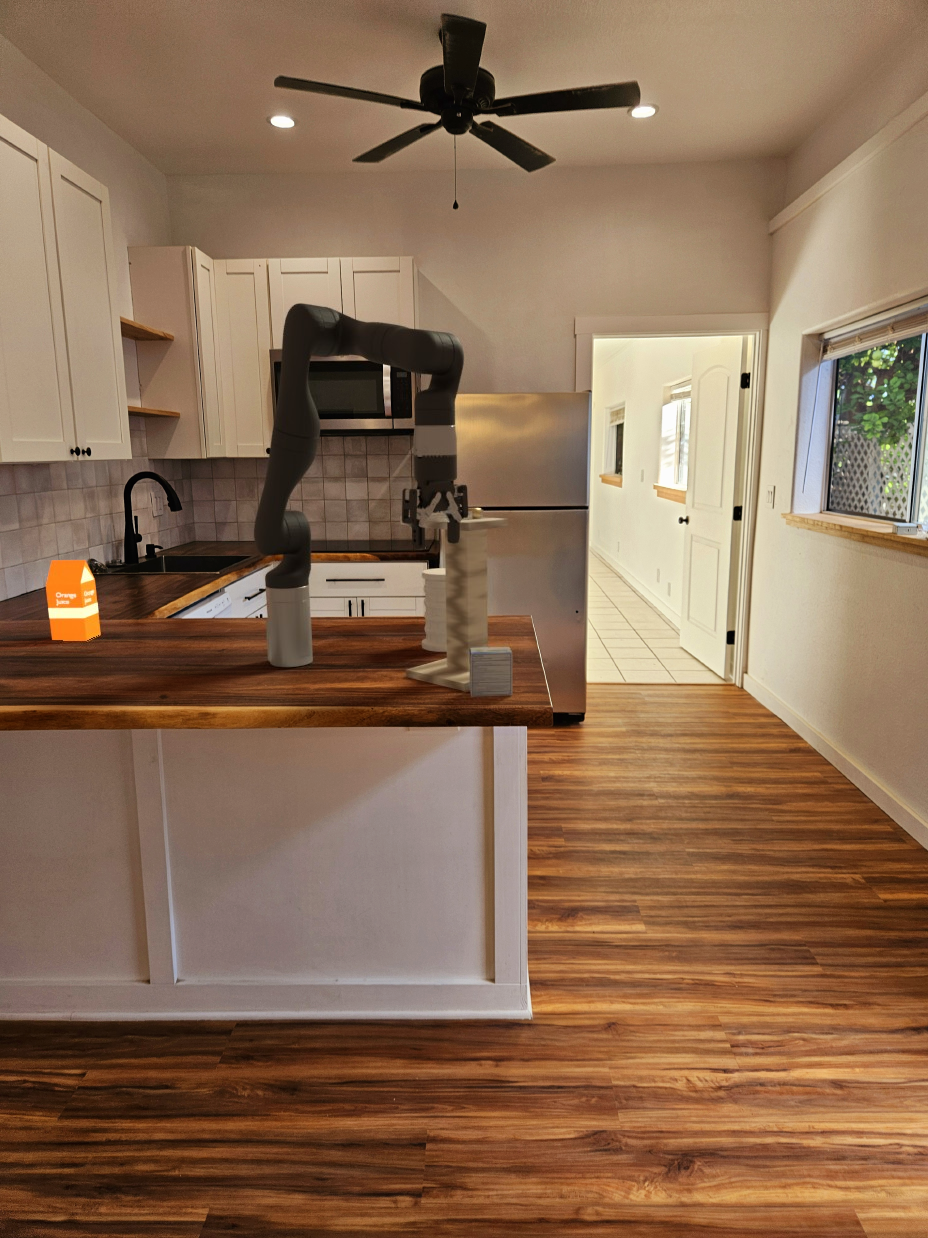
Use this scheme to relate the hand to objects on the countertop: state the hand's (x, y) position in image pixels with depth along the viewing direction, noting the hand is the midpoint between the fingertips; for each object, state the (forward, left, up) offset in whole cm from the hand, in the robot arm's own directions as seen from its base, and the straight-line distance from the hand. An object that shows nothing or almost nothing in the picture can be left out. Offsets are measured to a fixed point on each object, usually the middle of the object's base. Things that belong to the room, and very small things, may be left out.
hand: (436, 545), depth 142 cm
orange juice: (-108, -20, -29) cm, 113 cm away
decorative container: (-29, +33, -29) cm, 52 cm away
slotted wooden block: (-9, +12, +3) cm, 15 cm away
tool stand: (-9, +15, -29) cm, 33 cm away
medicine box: (+4, +10, -29) cm, 31 cm away
